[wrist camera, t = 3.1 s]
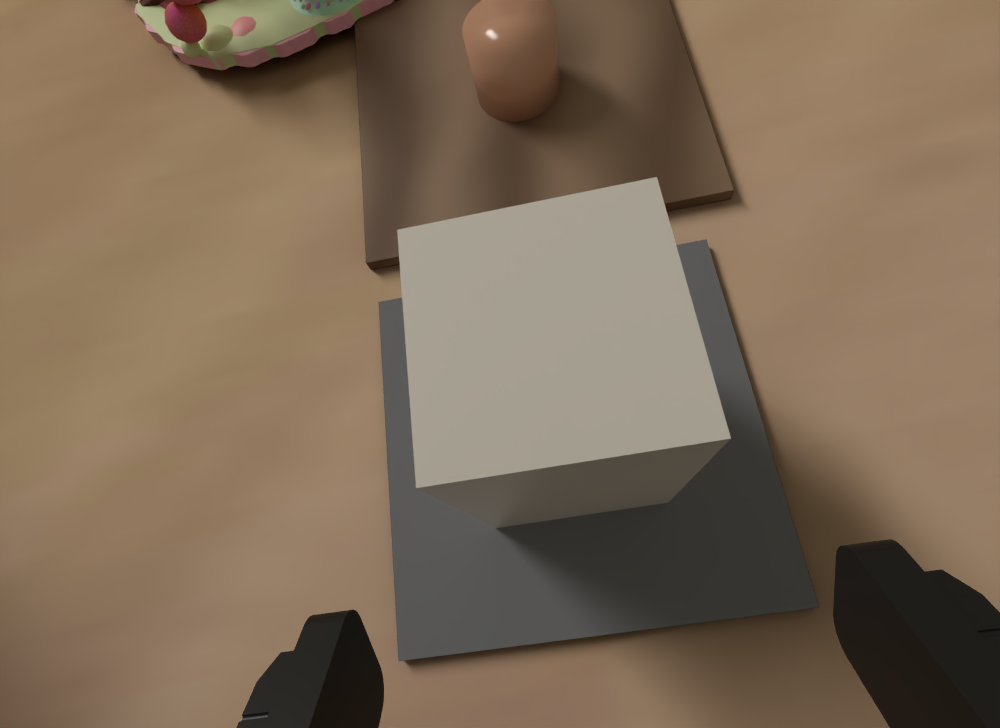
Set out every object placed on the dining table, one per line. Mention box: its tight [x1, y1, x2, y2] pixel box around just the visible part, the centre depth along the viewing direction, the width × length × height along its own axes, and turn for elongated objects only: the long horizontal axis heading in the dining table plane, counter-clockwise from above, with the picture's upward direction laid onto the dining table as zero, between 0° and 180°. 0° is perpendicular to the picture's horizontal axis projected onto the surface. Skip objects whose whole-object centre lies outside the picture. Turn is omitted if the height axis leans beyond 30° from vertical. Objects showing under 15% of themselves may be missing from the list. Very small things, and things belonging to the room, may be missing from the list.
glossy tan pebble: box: [462, 0, 560, 122], centre depth 26 cm, size 4×4×4 cm
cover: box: [397, 177, 731, 528], centre depth 17 cm, size 6×6×10 cm
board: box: [355, 0, 734, 270], centre depth 28 cm, size 16×16×1 cm
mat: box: [379, 240, 819, 661], centre depth 22 cm, size 14×14×1 cm
